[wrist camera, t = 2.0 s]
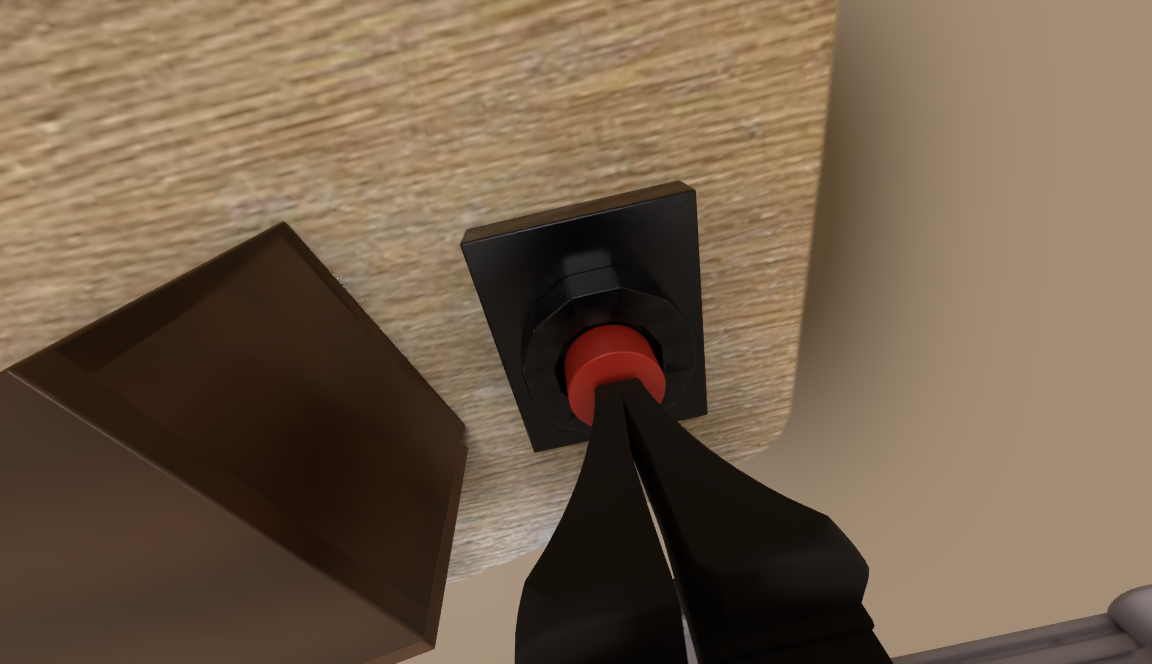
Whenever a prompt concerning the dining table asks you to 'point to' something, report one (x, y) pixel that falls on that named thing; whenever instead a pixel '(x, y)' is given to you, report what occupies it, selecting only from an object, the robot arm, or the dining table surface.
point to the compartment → (222, 477)
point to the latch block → (592, 297)
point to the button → (609, 366)
